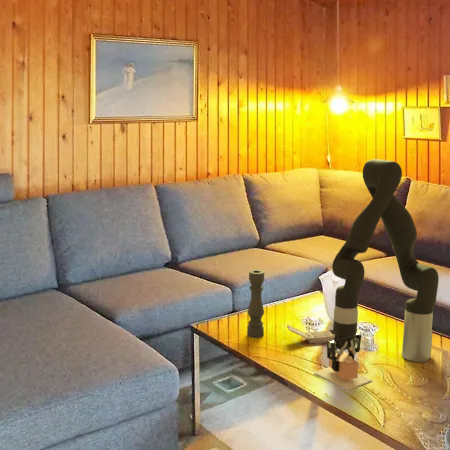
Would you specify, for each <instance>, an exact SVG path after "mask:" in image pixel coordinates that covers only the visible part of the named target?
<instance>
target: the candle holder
mask: <svg viewBox="0 0 450 450" xmlns="http://www.w3.org/2000/svg"><path fill="white" fill-rule="evenodd" d="M248 281H249V283H250V286H249V290H250V292H251V293H250V301H249V305H248V309H247V314H248V316H249V321H248V322H247V325H248V326H246V327H247V328H246V329H247V332H246V333H247V334H246V335H247V337H248V338H250V339H251V338H252V339H261V338H263V337H264V333H265V331H264V329H265V327H264V321H262V319H263V316H264V314H265V310H264V306H263V304H264V303H263V300H262V291H263V290H264V287H263V283H264V281H265V271H264V270H262V269H252V270H251V269H250V270H249V271H248Z"/></svg>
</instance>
